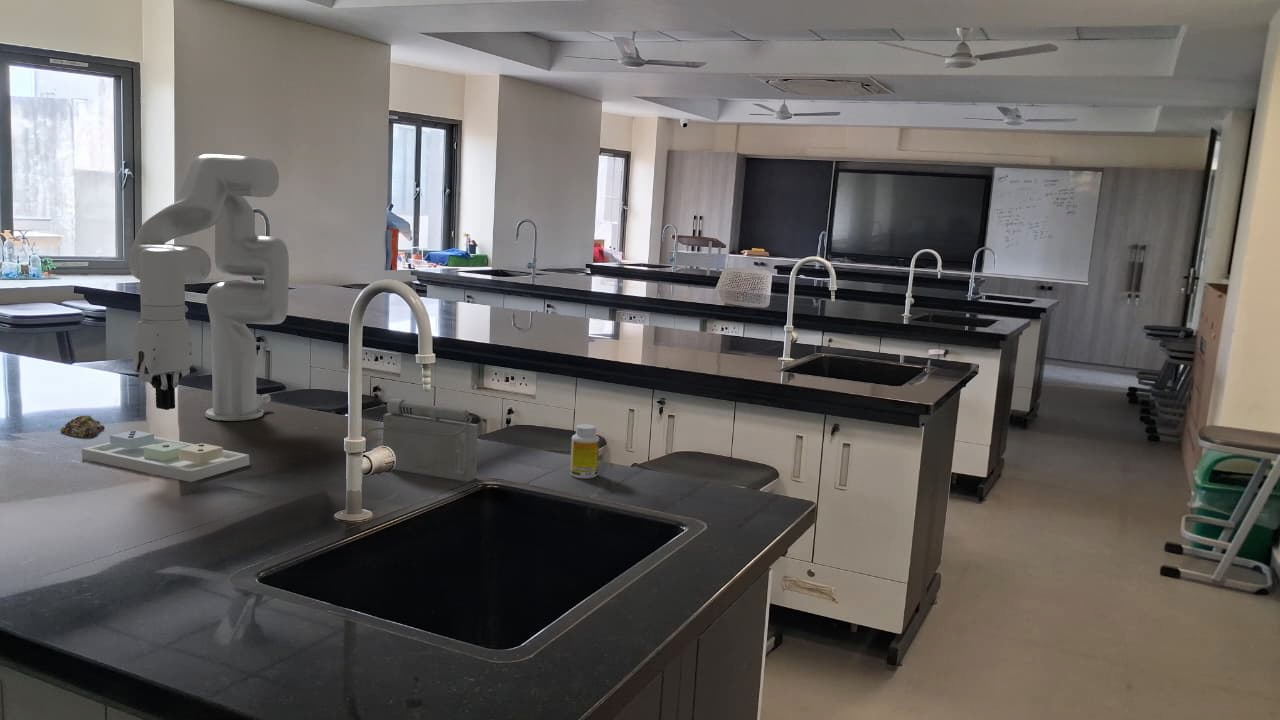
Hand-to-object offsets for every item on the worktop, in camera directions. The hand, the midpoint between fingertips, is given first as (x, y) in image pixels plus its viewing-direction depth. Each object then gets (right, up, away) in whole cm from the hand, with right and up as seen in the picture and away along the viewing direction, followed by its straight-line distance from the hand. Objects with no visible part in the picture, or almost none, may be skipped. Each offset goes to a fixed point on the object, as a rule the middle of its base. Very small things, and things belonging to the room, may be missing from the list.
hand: (165, 408), depth 183 cm
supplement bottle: (+80, -14, +9) cm, 82 cm away
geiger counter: (+47, -13, +5) cm, 49 cm away
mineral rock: (-27, -7, +20) cm, 34 cm away
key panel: (-1, -11, +2) cm, 11 cm away
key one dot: (-1, -9, +1) cm, 10 cm away
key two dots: (+8, -9, -2) cm, 12 cm away
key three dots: (-9, -7, +4) cm, 12 cm away
